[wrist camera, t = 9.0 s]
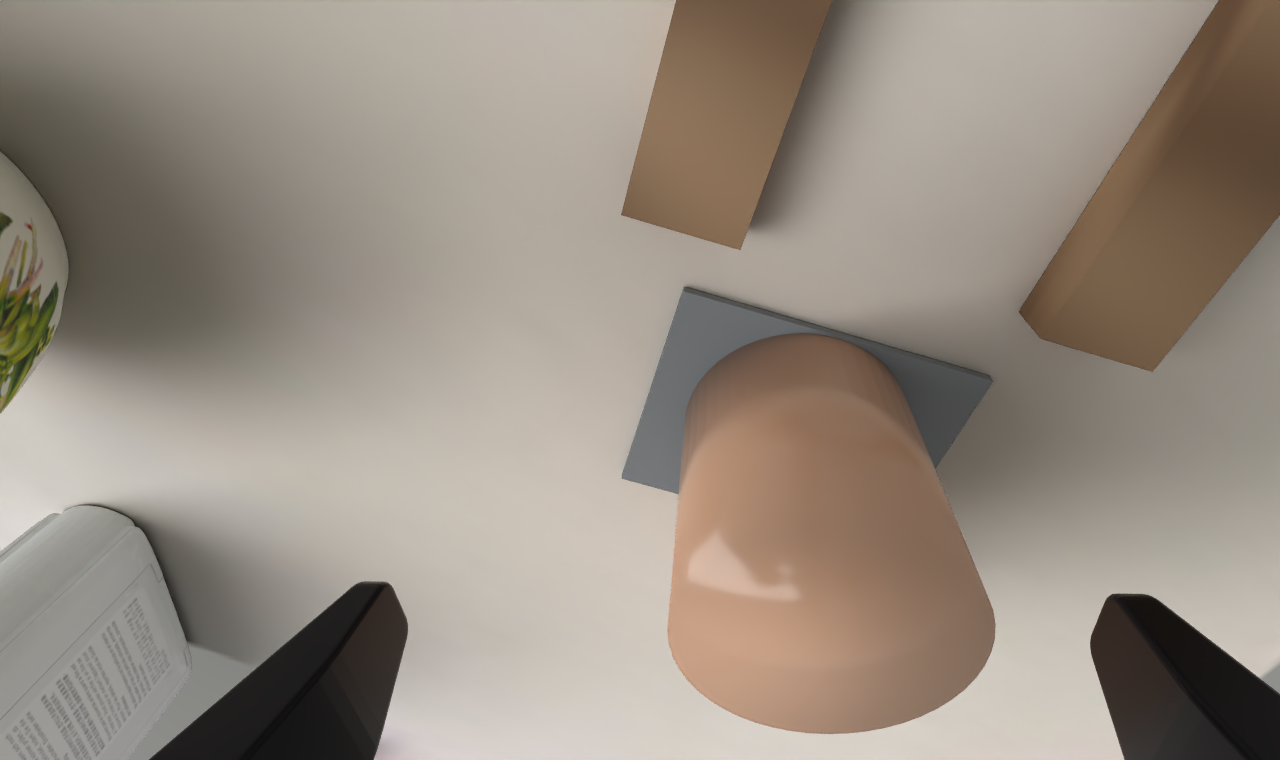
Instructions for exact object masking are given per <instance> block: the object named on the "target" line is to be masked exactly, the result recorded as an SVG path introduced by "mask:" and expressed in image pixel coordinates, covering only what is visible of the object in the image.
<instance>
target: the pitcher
mask: <svg viewBox="0 0 1280 760" xmlns="http://www.w3.org/2000/svg"><path fill="white" fill-rule="evenodd" d="M68 275H69V264H68V257H67V251H66V247H65V244H64V240H63V237H62V235H61V232H60V230H59V227H58V225H57V223H56V221H55V219H54V217H53V215H52V213H51V211H50V209H49V208H48V206H47V205H46V203H45V202H44V200H43V199H42V197H41V195H40V194H39V193H38V191H37V190H36V189H35V188H34V186H33V185H32V184H31V182H30V181H29V180H28V179H27V178H26V177H25V175H24V174H23V173H22V172H21V171H20V170H19V169H18V168H17V167H16V166H15V165H14V164H13V163H12V162H11V161H10V160H9V159H8V158H7V157H6V156H5V155H4V154H3V153H2V152H1V151H0V413H1V412H2V411H3V410H4V409H5V408H6V407H7V406H8V404H9V403H10V402H11V400H12V399H13V398H14V397H15V395H16V394H17V393H18V391H19V390H20V389H21V388H22V386H23V385H24V384H25V382H26V381H27V380H28V378H29V377H30V375H31V374H32V373H33V371H34V370H35V368H36V367H37V365H38V363H39V362H40V360H41V359H42V357H43V356H44V354H45V352H46V351H47V349H48V346H49V344H50V342H51V340H52V337H53V335H54V333H55V330H56V328H57V326H58V323H59V321H60V316H61V311H62V306H63V299H64V293H65V289H66V287H67V282H68Z"/></svg>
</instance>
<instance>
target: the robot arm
mask: <svg viewBox="0 0 1280 760" xmlns="http://www.w3.org/2000/svg"><path fill="white" fill-rule="evenodd" d="M407 634H408V623H407V619H406V616H405V614H404V612H403V609H402V607H401V605H400V603H399V600H398V598H397V596H396V594H395V591H394V589H393V587H392V586H391V585H390V584H389V583H387V582H370V581H365V582H360V583H358V584H356V585H354V586H353V587H352V588H350V589H349V590H348V591H347V592H346V593H345V594H343V595H342V596H341V597H340V598H339V599H337V600H336V601H335V602H334V603H333V604H332V605H330V606H329V607H328V608H327V609H326V610H324V611H323V612H322V613H321V614H320V615H319V616H317V617H316V618H315V619H314V620H313V621H312V622H310V623H309V624H308V625H307V626H306V627H304V628H303V629H302V630H301V631H300V632H299V633H297V634H296V635H295V636H294V637H293V638H292V639H290V640H289V641H288V642H287V643H286V644H284V645H283V646H282V647H281V648H280V649H279V650H277V651H276V652H275V653H274V654H273V655H271V656H270V657H269V658H268V659H267V660H266V661H264V662H263V663H262V664H261V665H260V666H259V667H257V668H256V669H255V670H254V671H253V672H251V673H250V674H249V675H248V676H247V677H246V678H244V679H243V680H242V681H241V682H240V683H239V684H237V685H236V686H235V687H234V688H233V689H231V690H230V691H229V692H228V693H227V694H226V695H224V696H223V697H222V698H221V699H220V700H219V701H217V702H216V703H215V704H214V705H213V706H211V707H210V708H209V709H208V710H207V711H206V712H204V713H203V714H202V715H201V716H200V717H198V718H197V719H196V720H195V721H194V722H193V723H191V724H190V725H189V726H188V727H187V728H185V729H184V730H183V731H182V732H181V733H180V734H178V735H177V736H176V737H175V738H174V739H173V740H171V741H170V742H169V743H168V744H167V745H165V746H164V747H163V748H162V749H161V750H160V751H158V752H157V753H156V754H155V755H154V756H153V757H151V758H150V759H149V760H374V757H375V754H376V752H377V749H378V745H379V742H380V738H381V735H382V731H383V728H384V724H385V720H386V716H387V712H388V709H389V705H390V701H391V697H392V693H393V689H394V686H395V682H396V678H397V674H398V670H399V666H400V662H401V659H402V655H403V651H404V647H405V643H406V639H407ZM1090 647H1091V654H1092V658H1093V662H1094V665H1095V668H1096V671H1097V674H1098V677H1099V681H1100V684H1101V687H1102V690H1103V693H1104V696H1105V699H1106V703H1107V706H1108V709H1109V712H1110V715H1111V718H1112V722H1113V725H1114V728H1115V731H1116V734H1117V737H1118V741H1119V744H1120V747H1121V750H1122V753H1123V756H1124V760H1280V694H1279V693H1278V692H1277V691H1275V690H1274V689H1273V688H1272V687H1270V686H1269V685H1268V684H1266V683H1265V682H1264V681H1262V680H1261V679H1260V678H1259V677H1257V676H1256V675H1255V674H1253V673H1252V672H1251V671H1250V670H1248V669H1247V668H1246V667H1244V666H1243V665H1242V664H1240V663H1239V662H1238V661H1237V660H1235V659H1234V658H1233V657H1231V656H1230V655H1229V654H1227V653H1226V652H1225V651H1224V650H1222V649H1221V648H1220V647H1218V646H1217V645H1216V644H1215V643H1213V642H1212V641H1211V640H1209V639H1208V638H1207V637H1205V636H1204V635H1203V634H1202V633H1200V632H1199V631H1198V630H1196V629H1195V628H1194V627H1193V626H1191V625H1190V624H1189V623H1187V622H1186V621H1185V620H1183V619H1182V618H1181V617H1180V616H1178V615H1177V614H1176V613H1174V612H1173V611H1172V610H1171V609H1169V608H1168V607H1167V606H1165V605H1164V604H1163V603H1161V602H1160V601H1159V600H1157V599H1156V598H1154V597H1152V596H1149V595H1145V594H1112V595H1111V596H1109V597H1108V598H1107V599H1106V601H1105V603H1104V605H1103V608H1102V610H1101V613H1100V615H1099V618H1098V620H1097V623H1096V625H1095V628H1094V630H1093V633H1092V636H1091V641H1090Z"/></svg>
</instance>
